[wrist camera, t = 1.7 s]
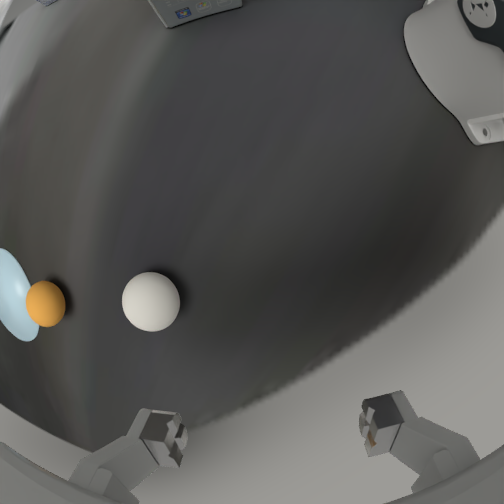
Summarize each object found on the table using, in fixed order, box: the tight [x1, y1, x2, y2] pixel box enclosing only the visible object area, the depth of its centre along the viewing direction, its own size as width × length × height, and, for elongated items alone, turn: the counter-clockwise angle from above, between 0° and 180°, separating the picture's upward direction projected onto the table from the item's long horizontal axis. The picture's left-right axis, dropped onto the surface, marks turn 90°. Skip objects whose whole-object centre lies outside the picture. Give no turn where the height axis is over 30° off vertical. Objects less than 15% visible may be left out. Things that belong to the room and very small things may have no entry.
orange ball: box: [26, 281, 65, 327], centre depth 23 cm, size 5×5×5 cm
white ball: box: [122, 272, 180, 331], centre depth 21 cm, size 5×5×5 cm
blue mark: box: [0, 248, 39, 341], centre depth 26 cm, size 14×14×1 cm
